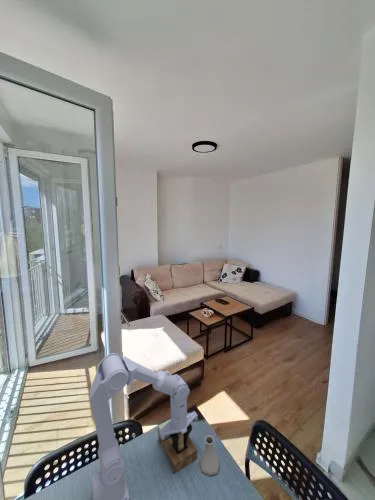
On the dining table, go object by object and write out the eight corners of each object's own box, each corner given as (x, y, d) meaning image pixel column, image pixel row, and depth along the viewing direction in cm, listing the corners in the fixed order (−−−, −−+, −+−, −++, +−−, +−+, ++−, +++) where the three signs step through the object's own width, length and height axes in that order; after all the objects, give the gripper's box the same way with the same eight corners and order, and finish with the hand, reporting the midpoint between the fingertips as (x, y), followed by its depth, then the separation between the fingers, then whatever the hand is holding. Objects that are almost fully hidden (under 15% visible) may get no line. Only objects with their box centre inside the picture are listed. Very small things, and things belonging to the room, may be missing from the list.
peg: (174, 450, 81) (173, 430, 80) (181, 445, 83) (180, 426, 82) (178, 457, 78) (178, 437, 77) (185, 451, 80) (185, 432, 79)
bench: (162, 449, 83) (162, 434, 82) (158, 440, 86) (157, 425, 85) (183, 436, 87) (183, 422, 86) (178, 428, 91) (178, 414, 90)
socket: (174, 473, 75) (174, 464, 74) (163, 450, 82) (163, 442, 82) (197, 458, 79) (197, 449, 79) (184, 437, 87) (184, 429, 86)
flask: (219, 454, 80) (219, 430, 79) (220, 477, 73) (220, 451, 72) (199, 453, 81) (199, 428, 80) (198, 475, 74) (198, 449, 73)
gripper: (165, 430, 71) (166, 466, 73) (202, 409, 79) (202, 443, 80) (156, 414, 77) (157, 448, 79) (191, 396, 85) (192, 428, 86)
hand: (179, 444), depth 80 cm, fingers closed on peg, 3 cm apart
